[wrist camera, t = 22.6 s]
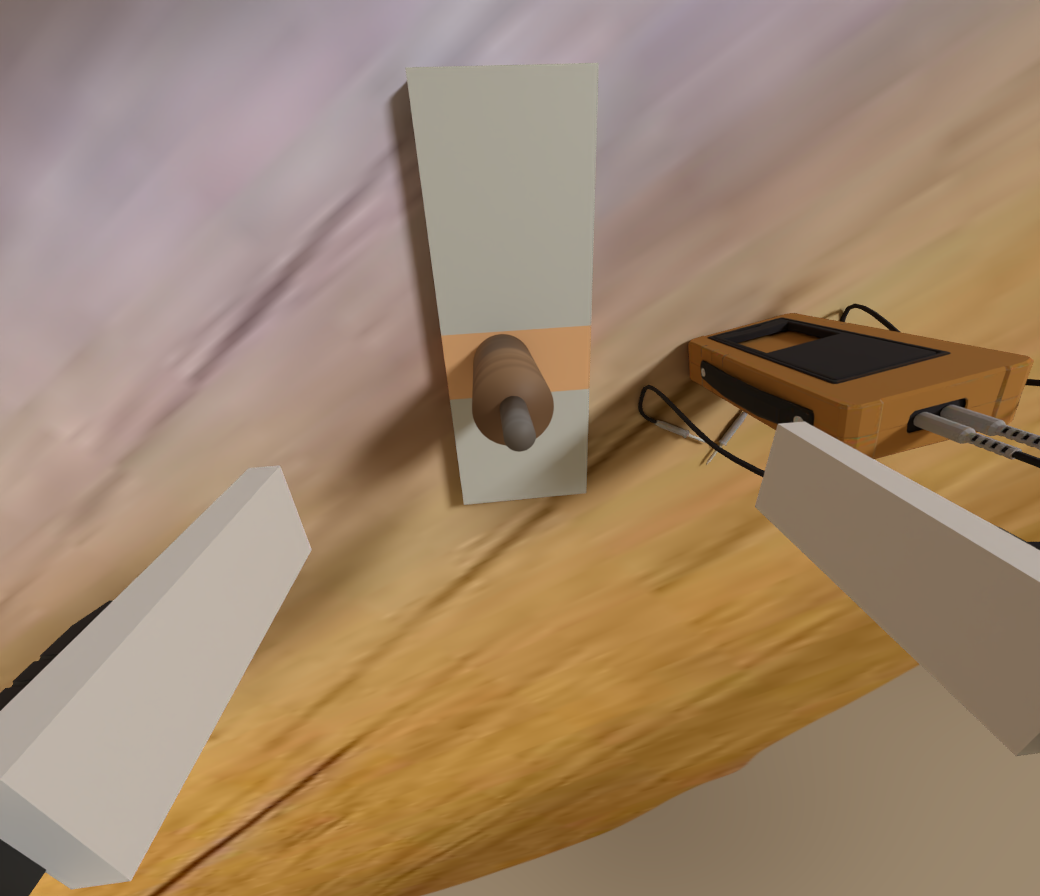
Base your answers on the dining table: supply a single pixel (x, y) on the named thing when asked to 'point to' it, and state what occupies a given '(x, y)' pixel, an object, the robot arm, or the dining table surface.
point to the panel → (512, 250)
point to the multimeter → (860, 385)
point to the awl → (509, 393)
